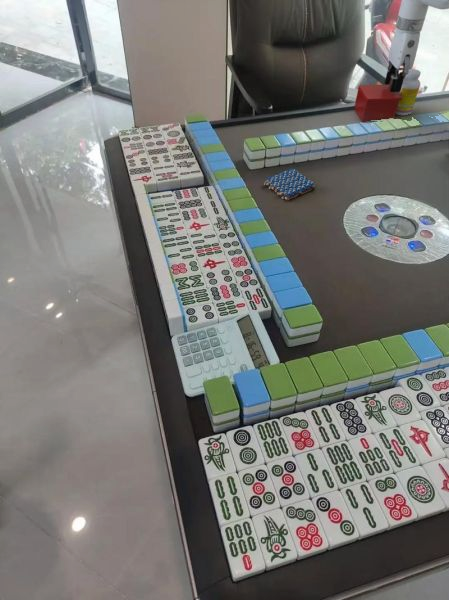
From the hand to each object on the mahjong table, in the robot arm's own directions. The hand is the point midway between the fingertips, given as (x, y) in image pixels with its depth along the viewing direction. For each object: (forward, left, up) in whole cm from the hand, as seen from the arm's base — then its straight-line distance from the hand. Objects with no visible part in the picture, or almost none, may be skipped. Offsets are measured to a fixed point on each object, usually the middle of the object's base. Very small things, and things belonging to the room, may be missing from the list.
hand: (392, 87), depth 139 cm
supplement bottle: (-6, -1, -9) cm, 11 cm away
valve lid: (+4, 0, -2) cm, 4 cm away
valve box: (+4, 0, -9) cm, 10 cm away
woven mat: (+39, +41, -9) cm, 57 cm away
